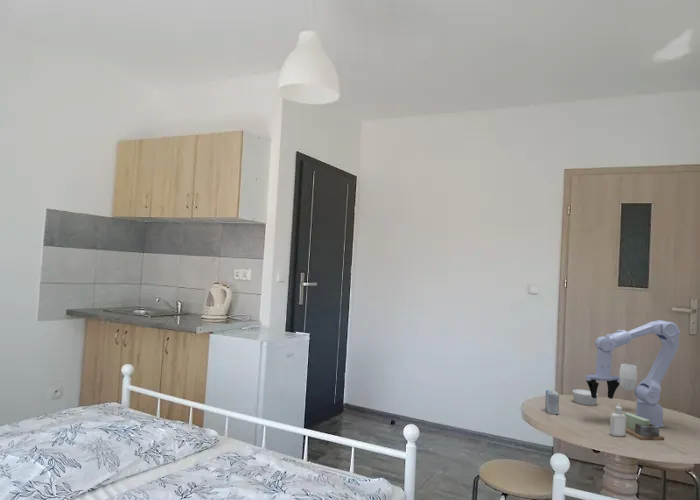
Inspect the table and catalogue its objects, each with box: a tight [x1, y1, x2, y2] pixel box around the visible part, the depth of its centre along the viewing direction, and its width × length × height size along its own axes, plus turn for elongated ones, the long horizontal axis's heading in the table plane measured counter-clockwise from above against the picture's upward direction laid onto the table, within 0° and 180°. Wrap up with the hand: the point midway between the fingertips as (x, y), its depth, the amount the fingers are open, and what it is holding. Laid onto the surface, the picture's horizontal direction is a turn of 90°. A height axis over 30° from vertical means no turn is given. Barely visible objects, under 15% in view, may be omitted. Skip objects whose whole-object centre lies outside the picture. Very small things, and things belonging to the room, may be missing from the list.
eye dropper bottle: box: [609, 403, 626, 437], centre depth 201 cm, size 4×6×12 cm
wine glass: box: [618, 363, 638, 392], centre depth 239 cm, size 7×7×21 cm
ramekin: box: [572, 388, 599, 407], centre depth 249 cm, size 11×11×5 cm
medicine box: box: [544, 389, 560, 415], centre depth 229 cm, size 8×4×9 cm, turn 168°
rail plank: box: [622, 412, 650, 430], centre depth 207 cm, size 3×10×5 cm, turn 18°
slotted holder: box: [625, 423, 665, 441], centre depth 206 cm, size 10×18×4 cm, turn 8°
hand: (601, 398), depth 220 cm, fingers open, 7 cm apart
